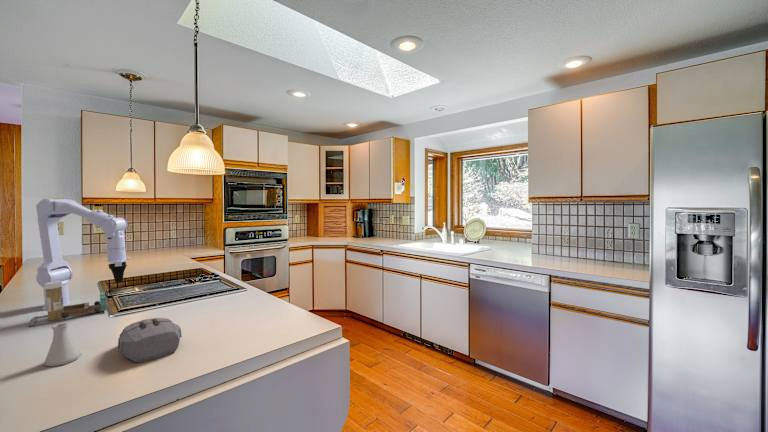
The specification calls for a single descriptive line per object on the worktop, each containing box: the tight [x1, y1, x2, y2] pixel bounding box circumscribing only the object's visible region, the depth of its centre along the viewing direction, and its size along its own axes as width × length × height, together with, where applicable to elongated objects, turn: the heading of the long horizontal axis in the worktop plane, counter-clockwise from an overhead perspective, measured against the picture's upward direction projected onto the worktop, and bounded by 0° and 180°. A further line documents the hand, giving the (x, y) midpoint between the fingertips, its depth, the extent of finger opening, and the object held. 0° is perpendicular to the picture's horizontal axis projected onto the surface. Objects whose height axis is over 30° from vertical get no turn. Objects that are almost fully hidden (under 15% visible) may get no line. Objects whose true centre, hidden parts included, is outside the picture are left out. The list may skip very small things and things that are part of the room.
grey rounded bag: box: [117, 317, 182, 363], centre depth 100 cm, size 15×8×20 cm
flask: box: [43, 322, 82, 367], centre depth 93 cm, size 7×7×10 cm
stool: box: [60, 292, 107, 319], centre depth 130 cm, size 11×13×5 cm
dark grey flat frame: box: [29, 311, 105, 328], centre depth 128 cm, size 11×20×1 cm, turn 130°
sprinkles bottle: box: [45, 281, 64, 321], centre depth 125 cm, size 5×5×13 cm
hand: (118, 281), depth 137 cm, fingers open, 3 cm apart
